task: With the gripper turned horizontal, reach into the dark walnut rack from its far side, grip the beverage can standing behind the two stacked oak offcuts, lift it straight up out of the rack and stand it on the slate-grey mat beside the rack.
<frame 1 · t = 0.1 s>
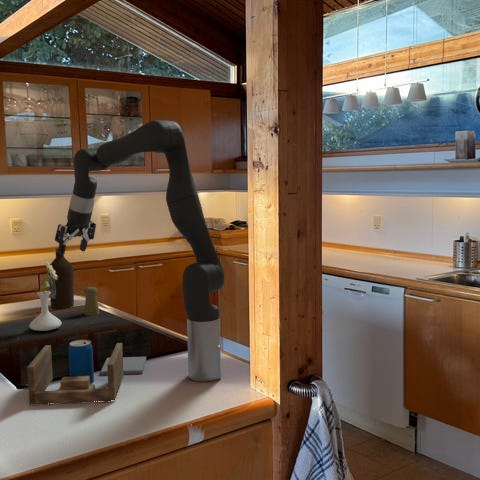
hand: (71, 252, 199), 31 cm above the counter, tool tilted 20°, fingers open, 8 cm apart
plant pot: (306, 341, 202), on the counter
olive oil: (62, 306, 254), on the counter
flower in vase: (46, 328, 221), on the counter
cork: (91, 314, 241), on the counter
upper offcut: (75, 387, 157), point 2 cm above the counter, touching lower offcut
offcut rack: (79, 389, 161), on the counter
grey mat: (124, 367, 179), on the counter
beverage can: (82, 385, 165), on the counter
lower offcut: (76, 396, 158), on the counter, touching upper offcut
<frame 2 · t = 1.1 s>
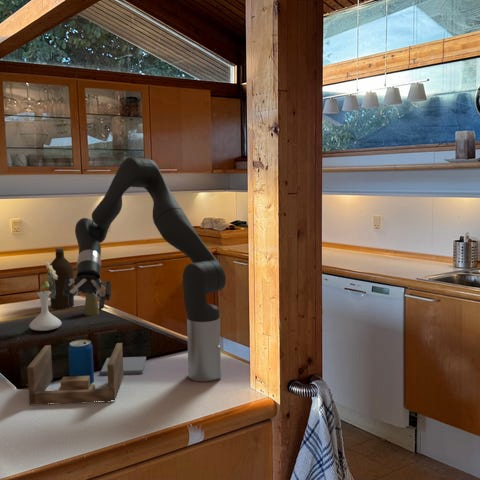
hand: (86, 307, 180), 18 cm above the counter, tool tilted 50°, fingers open, 8 cm apart
nothing on the counter moved.
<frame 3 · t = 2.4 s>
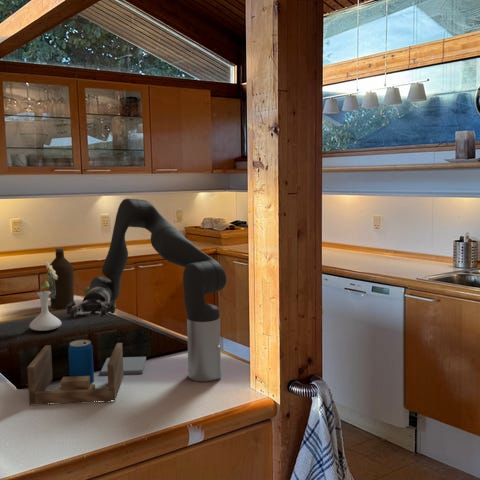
hand: (87, 313, 175), 17 cm above the counter, tool horizontal, fingers open, 8 cm apart
nothing on the counter moved.
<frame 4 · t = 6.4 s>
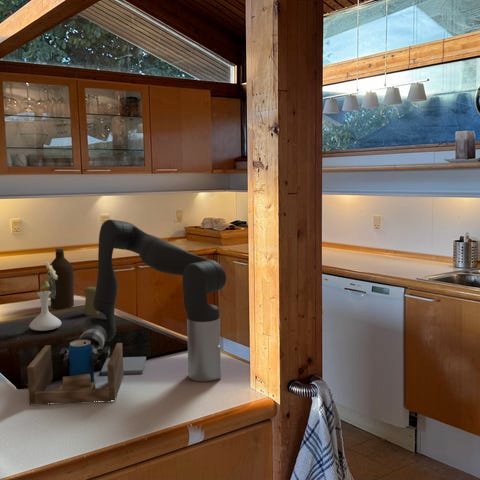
hand: (79, 362, 162), 7 cm above the counter, tool horizontal, fingers closed on beverage can, 6 cm apart
beverage can: (82, 385, 165), on the counter, touching gripper
when the fingers open (9 cm above the counter, at t = 13.9 s): beverage can drops 1 cm, resting on grey mat.
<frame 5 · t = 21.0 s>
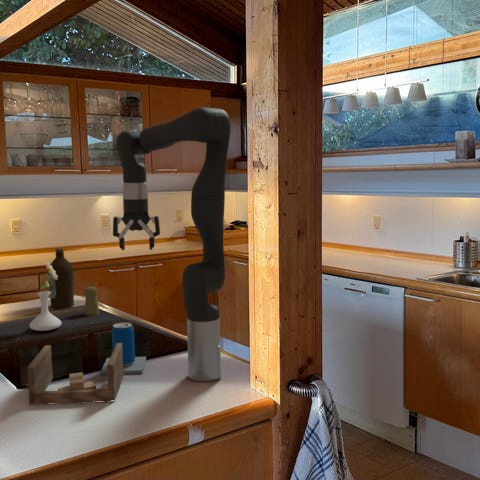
hand: (137, 249, 184), 34 cm above the counter, tool pointing down, fingers open, 8 cm apart
beverage can: (124, 364, 179), point 1 cm above the counter, touching grey mat
at the end: beverage can inside the target area on the grey mat (0.2 cm from its centre), point 0.8 cm above the grey mat's base; beverage can tilted 0°; upper offcut moved 1.0 cm from its start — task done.
